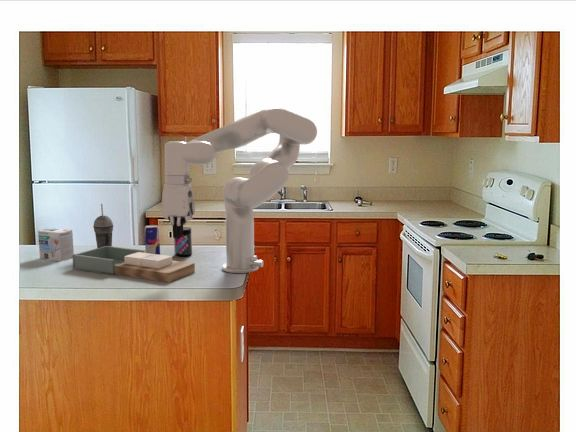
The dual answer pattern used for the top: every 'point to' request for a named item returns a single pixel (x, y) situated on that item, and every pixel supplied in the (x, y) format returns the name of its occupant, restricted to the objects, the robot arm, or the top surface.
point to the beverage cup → (103, 230)
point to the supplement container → (183, 244)
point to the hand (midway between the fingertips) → (178, 237)
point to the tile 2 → (157, 261)
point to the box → (102, 259)
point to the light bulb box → (56, 244)
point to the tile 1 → (136, 258)
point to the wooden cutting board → (156, 271)
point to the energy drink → (152, 239)
